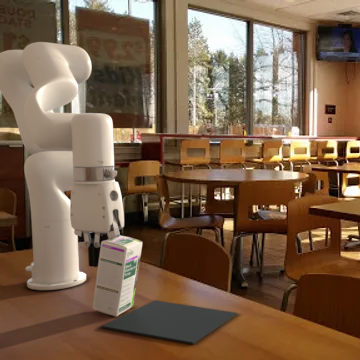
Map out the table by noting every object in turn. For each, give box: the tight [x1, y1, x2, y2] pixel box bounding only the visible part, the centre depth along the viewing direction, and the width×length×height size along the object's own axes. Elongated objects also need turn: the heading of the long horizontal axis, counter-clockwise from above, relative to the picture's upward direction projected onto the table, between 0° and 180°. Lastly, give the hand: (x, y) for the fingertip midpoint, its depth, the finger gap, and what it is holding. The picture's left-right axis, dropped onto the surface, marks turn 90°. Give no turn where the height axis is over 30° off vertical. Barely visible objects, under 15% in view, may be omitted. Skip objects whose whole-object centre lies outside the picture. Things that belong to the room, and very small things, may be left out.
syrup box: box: [92, 235, 143, 318], centre depth 99 cm, size 6×6×14 cm
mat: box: [101, 300, 238, 345], centre depth 95 cm, size 20×15×1 cm
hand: (97, 265), depth 101 cm, fingers closed
